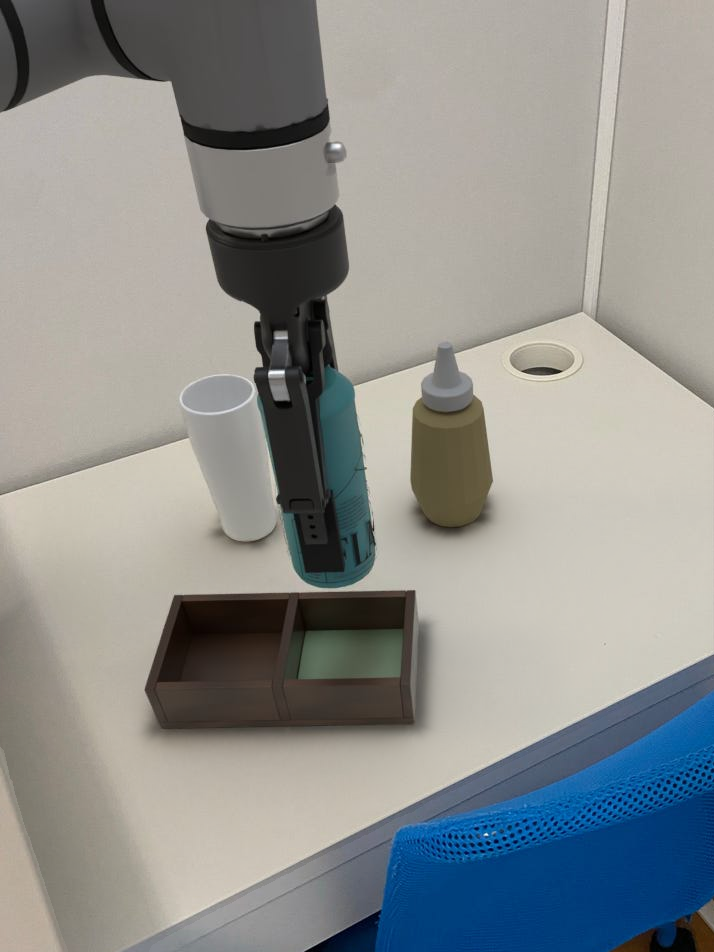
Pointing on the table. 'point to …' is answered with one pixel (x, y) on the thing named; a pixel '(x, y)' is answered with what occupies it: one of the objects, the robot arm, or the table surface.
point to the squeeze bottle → (449, 445)
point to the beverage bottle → (338, 482)
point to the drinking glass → (231, 452)
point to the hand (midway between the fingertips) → (330, 536)
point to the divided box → (287, 660)
